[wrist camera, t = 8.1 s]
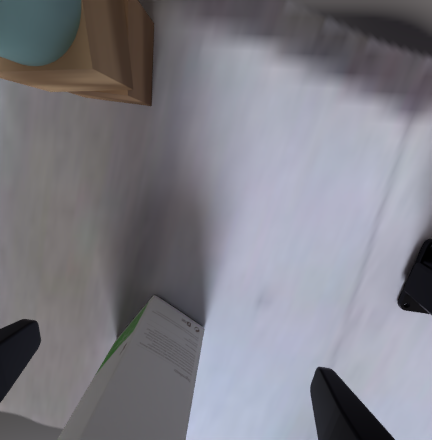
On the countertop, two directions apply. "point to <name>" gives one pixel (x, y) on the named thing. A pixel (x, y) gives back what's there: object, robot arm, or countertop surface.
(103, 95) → the tower base
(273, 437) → the countertop surface
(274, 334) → the countertop surface
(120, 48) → the tan wooden block
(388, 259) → the countertop surface
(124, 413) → the skincare box
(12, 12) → the teal block
